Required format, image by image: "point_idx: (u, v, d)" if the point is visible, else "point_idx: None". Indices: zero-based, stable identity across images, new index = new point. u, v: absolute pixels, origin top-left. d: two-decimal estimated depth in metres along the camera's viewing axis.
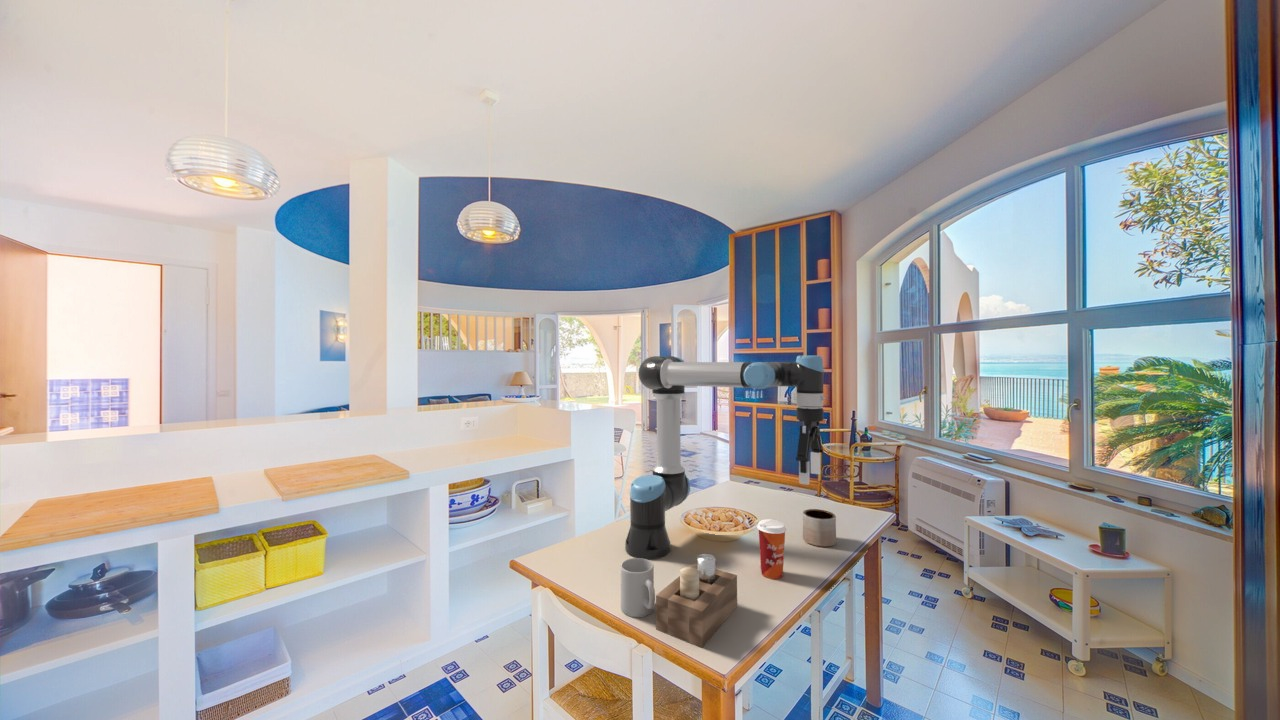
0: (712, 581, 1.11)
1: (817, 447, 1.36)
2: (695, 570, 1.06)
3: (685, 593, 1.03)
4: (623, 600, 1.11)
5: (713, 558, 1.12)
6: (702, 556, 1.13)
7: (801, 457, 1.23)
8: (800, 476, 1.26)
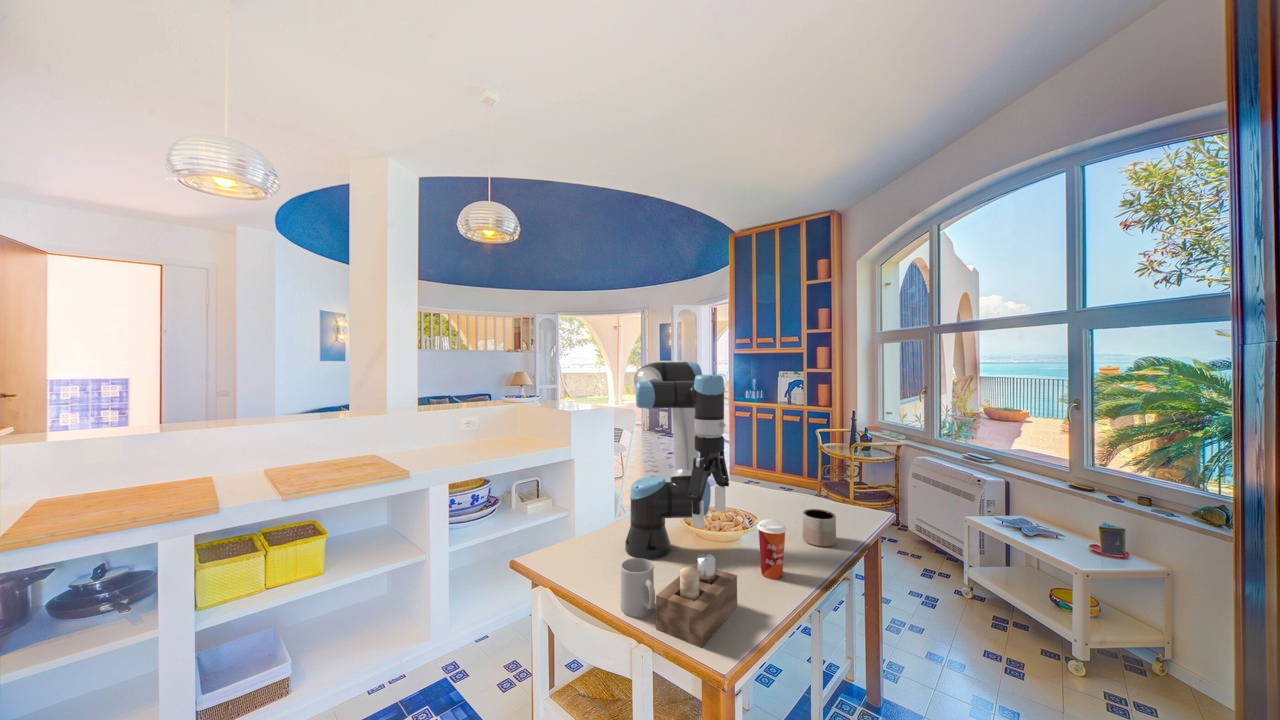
0: (712, 581, 1.11)
1: (721, 480, 1.18)
2: (695, 570, 1.06)
3: (685, 593, 1.03)
4: (623, 600, 1.11)
5: (713, 558, 1.12)
6: (702, 556, 1.13)
7: (692, 496, 1.05)
8: (693, 518, 1.08)
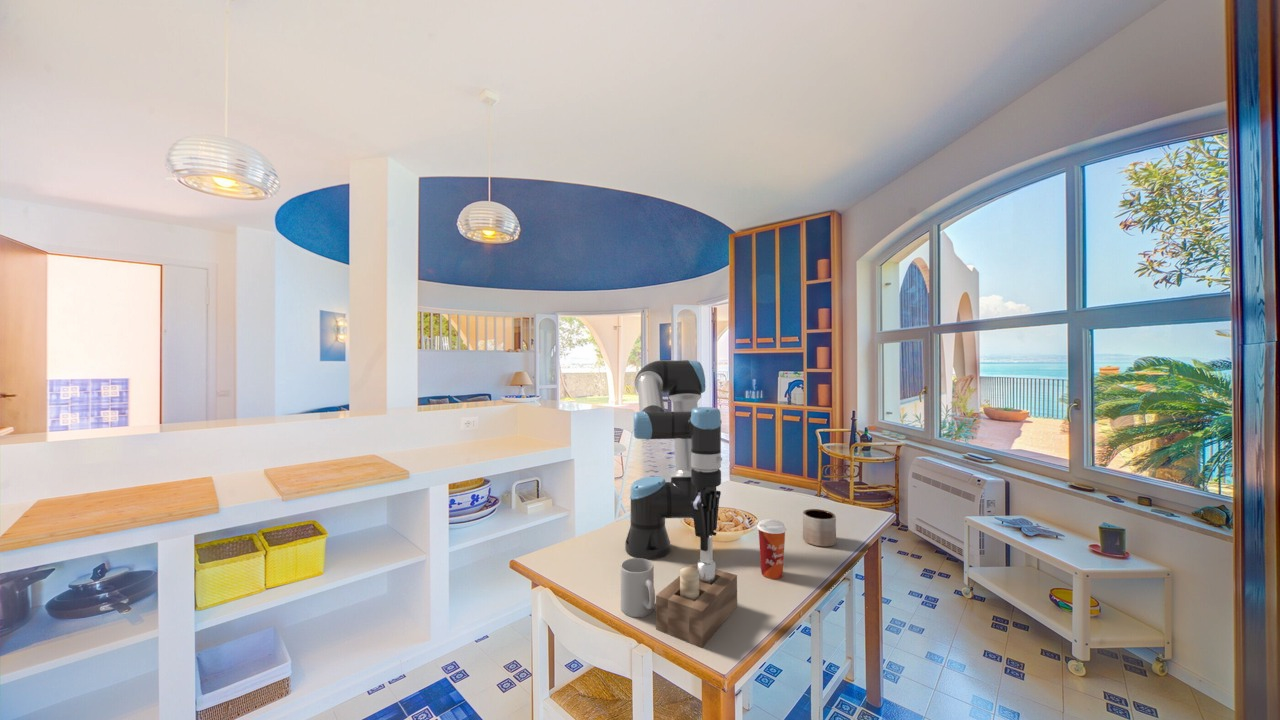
0: None
1: (710, 524, 1.13)
2: (695, 570, 1.06)
3: (685, 593, 1.03)
4: (623, 600, 1.11)
5: (713, 563, 1.12)
6: None
7: (700, 534, 1.10)
8: (701, 554, 1.13)
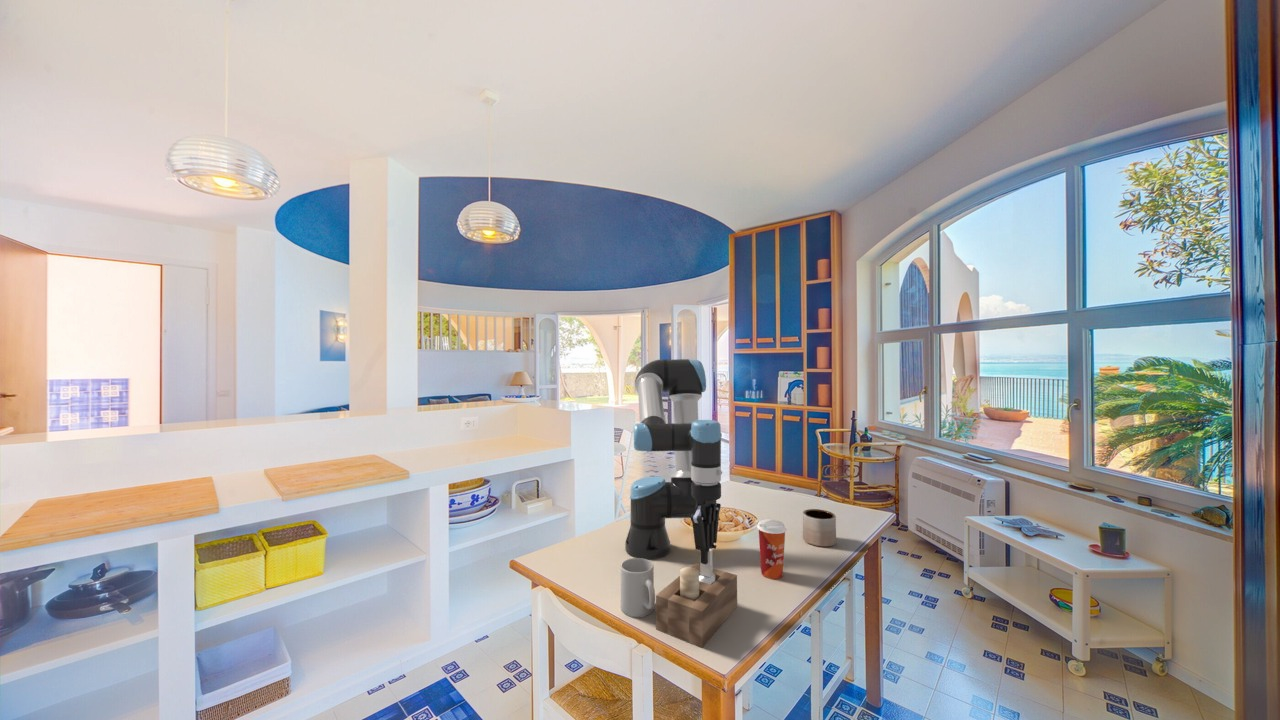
0: None
1: (710, 538, 1.13)
2: (695, 570, 1.06)
3: (685, 593, 1.03)
4: (623, 600, 1.11)
5: (713, 576, 1.12)
6: None
7: (700, 547, 1.10)
8: (701, 567, 1.13)
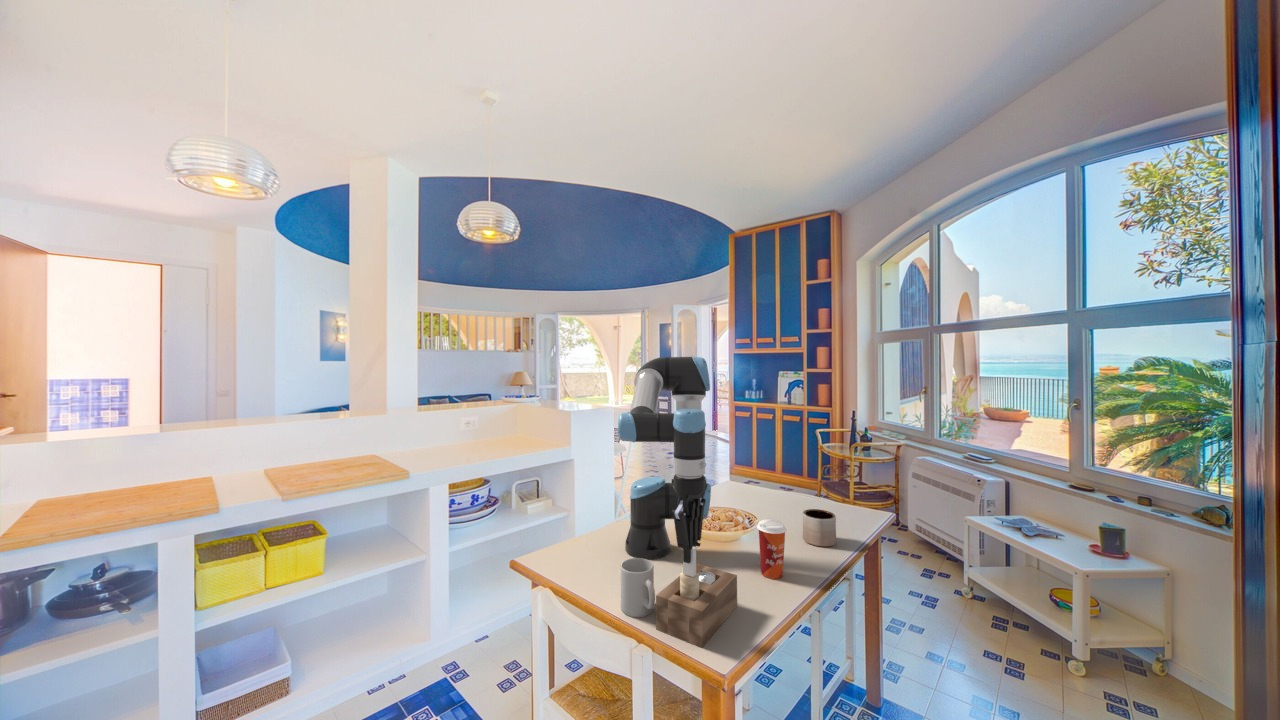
0: None
1: (693, 535, 1.05)
2: None
3: (685, 597, 1.03)
4: (623, 600, 1.11)
5: (713, 576, 1.12)
6: (702, 573, 1.13)
7: (682, 545, 1.02)
8: (684, 566, 1.05)
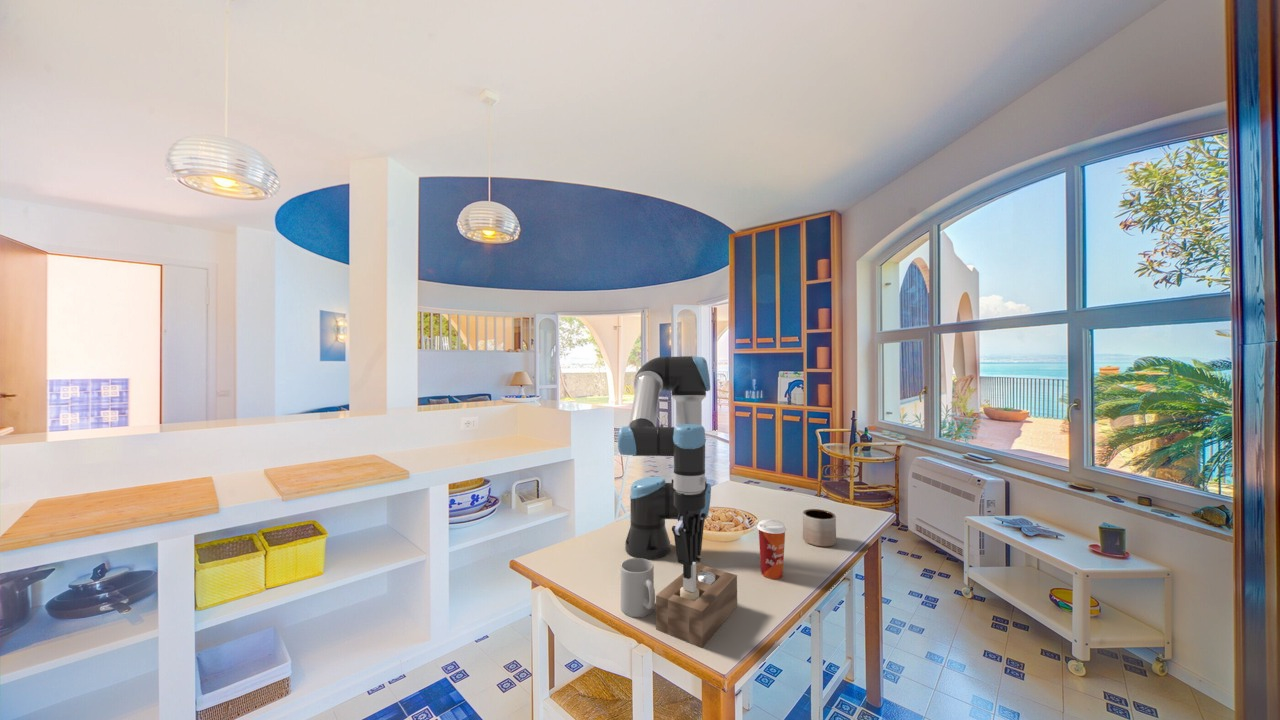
0: None
1: (693, 550, 1.05)
2: None
3: None
4: (623, 600, 1.11)
5: (713, 576, 1.12)
6: (702, 573, 1.13)
7: (682, 561, 1.02)
8: (684, 581, 1.05)
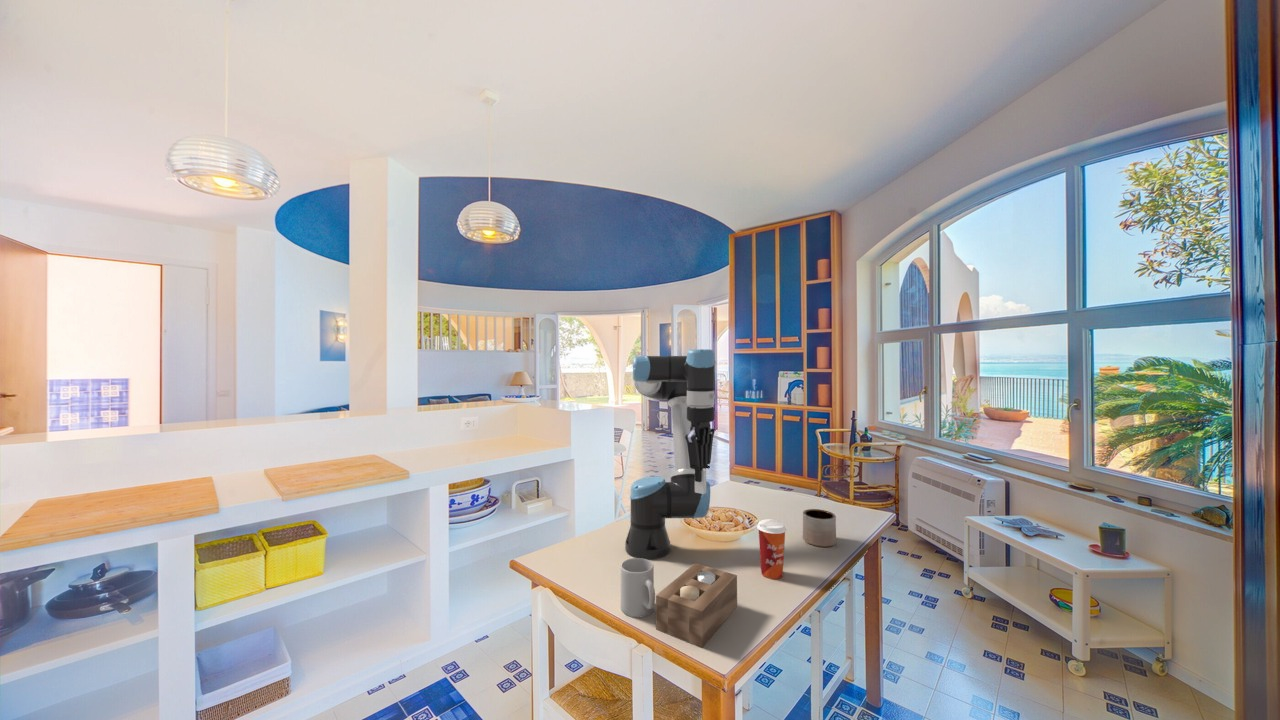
0: None
1: (704, 458, 1.20)
2: (695, 589, 1.06)
3: None
4: (623, 600, 1.11)
5: (713, 576, 1.12)
6: (702, 573, 1.13)
7: (694, 465, 1.17)
8: (695, 485, 1.20)
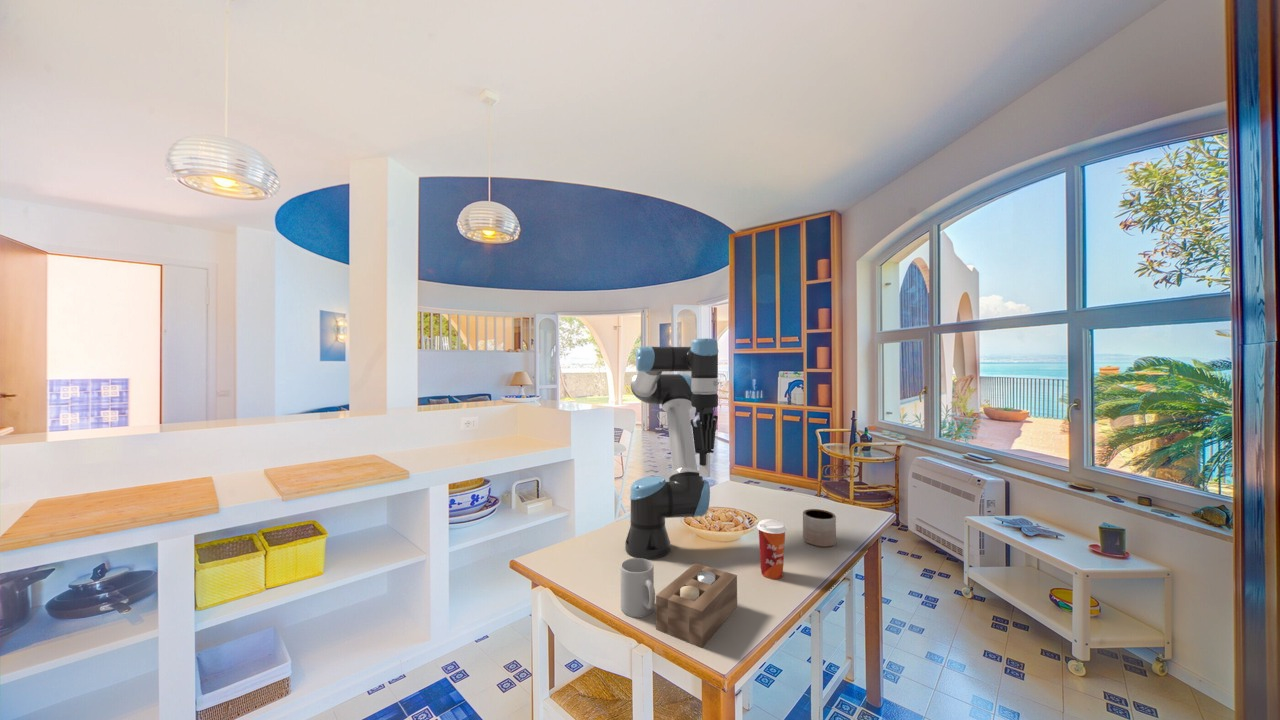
0: None
1: (708, 443, 1.26)
2: (695, 589, 1.06)
3: None
4: (623, 600, 1.11)
5: (713, 576, 1.12)
6: (702, 573, 1.13)
7: (699, 449, 1.23)
8: (700, 469, 1.26)
